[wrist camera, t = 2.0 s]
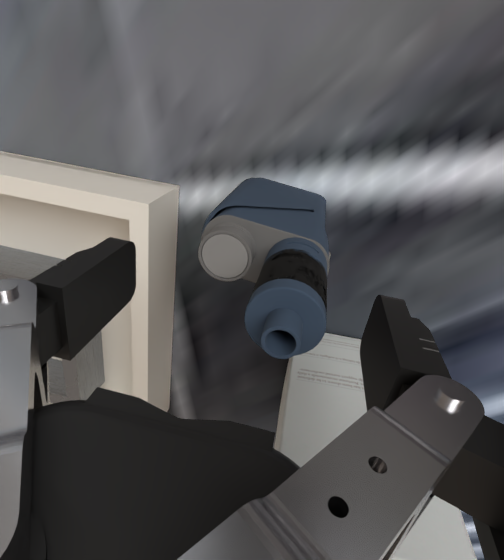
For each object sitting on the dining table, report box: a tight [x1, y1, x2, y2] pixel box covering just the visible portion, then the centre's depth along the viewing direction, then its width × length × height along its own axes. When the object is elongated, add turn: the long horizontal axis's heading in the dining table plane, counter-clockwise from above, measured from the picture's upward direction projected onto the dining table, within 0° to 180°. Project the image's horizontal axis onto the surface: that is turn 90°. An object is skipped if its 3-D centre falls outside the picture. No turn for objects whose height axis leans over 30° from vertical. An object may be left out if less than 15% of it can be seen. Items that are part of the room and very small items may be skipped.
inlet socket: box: [0, 245, 105, 403], centre depth 25 cm, size 10×10×3 cm
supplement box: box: [274, 333, 477, 560], centre depth 19 cm, size 7×7×13 cm
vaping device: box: [198, 178, 331, 359], centre depth 15 cm, size 3×5×12 cm, turn 76°
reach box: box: [0, 151, 179, 412], centre depth 24 cm, size 18×20×4 cm
